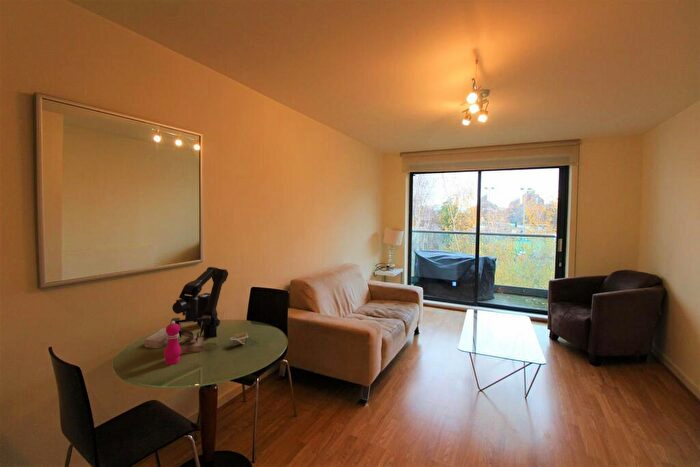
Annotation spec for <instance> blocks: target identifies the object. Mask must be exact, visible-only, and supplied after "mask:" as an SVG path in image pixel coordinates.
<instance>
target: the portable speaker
mask: <svg viewBox="0 0 700 467" xmlns="http://www.w3.org/2000/svg"><path fill="white" fill-rule="evenodd" d="M210 294H211V292H204V293H201V294H198V295H199V296H200V297H199V298H198V303H197V318H200V317H201V314H202V311H203V310H205V309H206V308H207V306H208V302H209V298H210ZM196 323H197V326H198V327H199V328H201V322H196Z"/></svg>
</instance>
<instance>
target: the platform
mask: <svg viewBox="0 0 700 467" xmlns="http://www.w3.org/2000/svg"><path fill="white" fill-rule="evenodd" d="M247 338H249V334H248V333H247V332H244V333H240V334H235V335H234V336H232V337H229V339H230V340H231V341H232V342H231V346H232V347H235V346H237V345H241V344H242V345H245V344H246V343H247Z"/></svg>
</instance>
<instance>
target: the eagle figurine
mask: <svg viewBox="0 0 700 467" xmlns="http://www.w3.org/2000/svg"><path fill="white" fill-rule="evenodd" d="M181 334H182V336H183V337H185V338H188V339H185V340H183V341H181V342H180V343H179V344H180V345H182V344H184V343H187V342H191V340H196V342H198V341H197V340H198V337H200V331H198V332H197V333H195V334H194V333H193V332H192V331H189V330H187V329H181Z"/></svg>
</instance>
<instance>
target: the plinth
mask: <svg viewBox="0 0 700 467" xmlns="http://www.w3.org/2000/svg"><path fill="white" fill-rule="evenodd" d="M188 338H189V337H185V338H178V344H179V343H180V342H181V341H183V340H185V339H188ZM197 341H198V342H196V340H191V342H187V343H184V344H182V345H180V344H179V346H180V348H181V354H189V353H198V352H204V336H198V340H197ZM181 354H180V355H181Z"/></svg>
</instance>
